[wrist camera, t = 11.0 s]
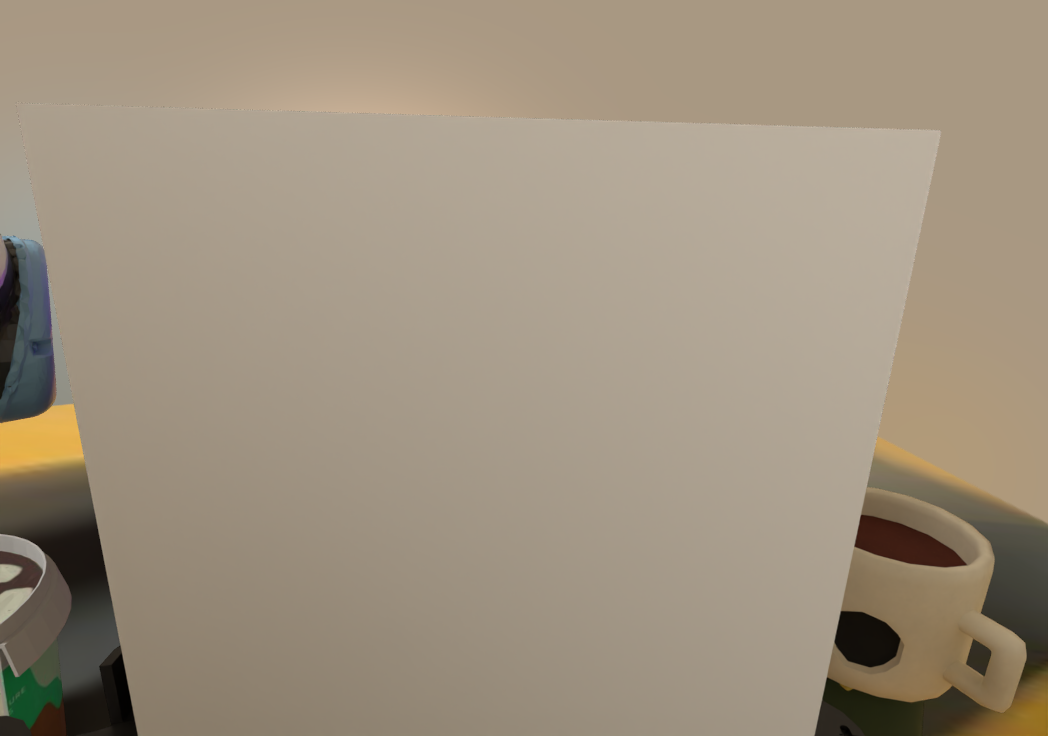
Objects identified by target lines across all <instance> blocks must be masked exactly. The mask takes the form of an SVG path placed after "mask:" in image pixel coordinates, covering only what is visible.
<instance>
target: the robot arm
mask: <svg viewBox="0 0 1048 736" xmlns="http://www.w3.org/2000/svg"><path fill="white" fill-rule="evenodd" d="M48 288H49V287H48V276H47V265H46V257H45V252H44V249H43V247H42V246H41V245H40V244H38V243H37V242H36V241H33V240H25V239H19V238H17V237H15V236H13V237H12V236H3V237H2V236H1V234H0V423H3V422H8V421H14V420H19V419H25V418H30V417H35V416H38V415H40V414H42V413H44V412H45V411H47V410H48V409H49V408H50V407H51V406H52V404H53V403H54V401H55V398H56V378H55V365H54V354H53V343H52V339H53V338H52V325H51V311H50V299H49V289H48ZM99 667H100V672H101V677H102V681H103V686H104V691H105V696H106V701H107V705H108V710H109V715H110V720H111V726H110V727H107V728H103V729H100V730H97V731H93V732H89V733H84V734H80V735H76V736H138V733H137V728H136V723H135V718H134V713H133V707H132V702H131V697H130V692H129V687H128V682H127V676H126V671H125V666H124V661H123V656H122V650H121V645H120V646H119V647H117V648H116V649H114V651H113V652H112V653H111V654H110V655H109V656H108V657H107V658H106V659H105V661H104V662H103V663H102V664H101V665H100V666H99ZM0 736H32V734H31V731H30V730H29V728H28V726H27V725H26V723H25V722H24V720H21V719H17V718H14V717H10V716H0ZM814 736H865V735H864V734H863V732H862V730H861V729H860V728H859V727H858V726H857V725H856V724H855V723H854V722H853V721H852V720H850V719H849V718H848V717H847V716H846V715H845V714H844V713H843V712H841V711H840V710H838V709H836V708H835V707H833V706H831V705H830V704H828V703H826V702H825V701H823V700H822V702H821V707H820V712H819V716H818V721H817V726H816V731H815V735H814Z"/></svg>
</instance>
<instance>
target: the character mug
mask: <svg viewBox="0 0 1048 736" xmlns="http://www.w3.org/2000/svg"><path fill="white" fill-rule="evenodd" d="M994 561H995V558H994V554H993V551H992V547H991V544H990V542H989V541H988V540H987V539H986V538H985V537H984V536H983V535H982V534H981V533H979V532H978V531H977V530H976V529H975V528H974V527H973V526H972V525H971V524H969V523H967V522H965V521H964V520H962V519H960V518H958V517H957V516H955V515H953V514H951V513H949V512H948V511H946V510H944V509H942V508H940V507H937V506H934V505H932V504H929V503H926V502H924V501H921V500H918V499H916V498H913V497H910V496H907V495H903V494H898V493H894V492H890V491H886V490H881V489H877V488H870V487H867V488H866V492H865V497H864V502H863V507H862V511H861V516H860V521H859V526H858V531H857V535H856V540H855V545H854V550H853V554H852V559H851V564H850V569H849V573H848V578H847V583H846V588H845V592H844V597H843V602H842V607H841V612H840V616H839V621H838V626H837V631H836V635H835V640H834V645H833V650H832V654H831V659H830V664H829V669H828V673H827V678H826V683H825V688H824V693H823V697H822V700H823V701H825V702H826V703H828V704H830V705H831V706H833V707H835V708H836V709H838V710H840V711H841V712H843V713H844V714H845V715H846V716H847V717H848V718H849V719H850V720H852V721H853V722H854V723H855V724H856V725H857V726H858V727H859V728H860V729H861V730H862V732H863V734H864V735H865V736H922V726H923V711H924V703H923V700H926V699H932V698H937V697H939V696H940V695H942V694H943V693H944V692H946V691H947V690H948V689H950V687H951V686H952V685H953V686H954V687H956V688H957V689H958V690H960V691H961V692H963V693H964V694H966V695H967V696H968V697H970V698H971V699H973V700H974V701H976V702H977V703H978V704H980V705H981V706H984V707H986V708H989V709H991V710H993V711H997V712H1000V713H1004V712H1005V711H1006V710H1007V709H1008V708H1009V707H1011V704H1012V701H1013V698H1014V695H1015V692H1016V689H1017V686H1018V683H1019V680H1020V677H1021V674H1022V671H1023V668H1024V665H1025V662H1026V657H1027V654H1026V645H1025V642H1024V641H1023V640H1021V639H1020V638H1019V637H1018V636H1017V635H1016V634H1015V633H1014V632H1012V631H1010V630H1008V629H1007V628H1005V627H1003V626H1002V625H1000V624H998V623H996V622H995V621H993V620H991V619H989V618H988V617H986V616H984V615H982V614H981V610H982V607H983V604H984V600H985V597H986V593H987V590H988V587H989V583H990V580H991V576H992V573H993V568H994ZM973 639H975V640H976V641H978V642H980V643H981V644H983V645H985V646H986V647H988V648H989V649H990V650H991V657H990V661H989V664H988V667H987V670H986V674H985V676H983V675H981V674H980V673H978V672H977V671H975V670H974V669H972V668H971V667H969V666H968V665H966V661H967V658H968V654H969V651H970V648H971V644H972V641H973Z"/></svg>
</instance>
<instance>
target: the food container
mask: <svg viewBox="0 0 1048 736" xmlns="http://www.w3.org/2000/svg"><path fill="white" fill-rule="evenodd" d="M71 599H72V596H71V593H70V590H69V587H68V585H67V583H66V582H65V580H64V578H63V576H62V575H61V573H60V571H59V569H58V568H57V566H56V564H55V563H54V562H53V560H52V559H51V558H50V557H49V556H48V555H47V554H45V553H43V551H42V550H41V549H40V548H39V547H38V546H37V545H35V544H34V543H32V542H30V541H28V540H26V539H22V538H19V537H16V536H11V535H4V534H0V716H10V717H14V718H17V719H21V720H24V722H25V723H26V725H27V726H28V728H29V730H30V731H31V734H32V736H67V732H66V722H65V713H64V703H63V693H62V683H61V673H60V663H59V653H58V643H57V636H58V634H59V633H60V631H61V630H62V628H63V626H64V625H65V623H66V620H67V618H68V615H69V613H70V610H71Z"/></svg>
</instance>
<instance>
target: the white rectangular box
mask: <svg viewBox="0 0 1048 736" xmlns="http://www.w3.org/2000/svg"><path fill="white" fill-rule="evenodd" d="M16 107H17V112H18V117H19V123H20V128H21V133H22V138H23V143H24V149H25V154H26V159H27V164H28V169H29V174H30V180H31V185H32V189H33V195H34V200H35V205H36V210H37V216H38V221H39V226H40V231H41V236H42V241H43V246H44V252H45V257H46V262H47V267H48V273H49V277H50V283H51V288H52V293H53V299H54V304H55V309H56V314H57V319H58V324H59V329H60V335H61V340H62V345H63V350H64V355H65V360H66V366H67V371H68V376H69V381H70V386H71V392H72V397H73V402H74V407H75V412H76V418H77V423H78V428H79V433H80V438H81V443H82V449H83V454H84V459H85V464H86V469H87V475H88V480H89V485H90V490H91V495H92V500H93V506H94V511H95V516H96V521H97V526H98V531H99V537H100V542H101V547H102V552H103V557H104V562H105V568H106V573H107V578H108V583H109V588H110V594H111V599H112V604H113V609H114V614H115V619H116V625H117V630H118V635H119V640H120V645H121V650H122V656H123V661H124V666H125V671H126V676H127V682H128V687H129V692H130V697H131V702H132V707H133V713H134V718H135V723H136V728H137V733H138V736H814V735H815V731H816V726H817V721H818V716H819V712H820V707H821V702H822V697H823V693H824V688H825V683H826V678H827V673H828V669H829V664H830V659H831V654H832V650H833V645H834V640H835V635H836V631H837V626H838V621H839V616H840V612H841V607H842V602H843V597H844V592H845V588H846V583H847V578H848V573H849V569H850V564H851V559H852V554H853V550H854V545H855V540H856V535H857V531H858V526H859V521H860V516H861V511H862V507H863V502H864V497H865V492H866V488H867V483H868V478H869V473H870V469H871V464H872V459H873V454H874V450H875V445H876V440H877V435H878V430H879V426H880V421H881V416H882V411H883V406H884V402H885V397H886V392H887V388H888V383H889V378H890V373H891V369H892V364H893V359H894V354H895V349H896V345H897V340H898V335H899V330H900V326H901V321H902V315H903V311H904V307H905V302H906V297H907V292H908V288H909V282H910V278H911V273H912V269H913V264H914V259H915V254H916V249H917V244H918V240H919V235H920V230H921V225H922V221H923V216H924V211H925V206H926V202H927V197H928V192H929V187H930V183H931V178H932V173H933V168H934V164H935V159H936V154H937V149H938V144H939V140H940V135H941V130H912V129H910V130H909V129H878V128H844V127H843V128H842V127H809V126H777V125H743V124H710V123H676V122H642V121H608V120H607V121H606V120H573V119H541V118H506V117H474V116H472V117H471V116H440V115H439V116H437V115H406V114H405V115H404V114H369V113H337V112H305V111H301V112H300V111H270V110H269V111H268V110H238V109H203V108H170V107H169V108H167V107H134V106H103V105H67V104H35V103H34V104H33V103H32V104H31V103H16Z"/></svg>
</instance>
